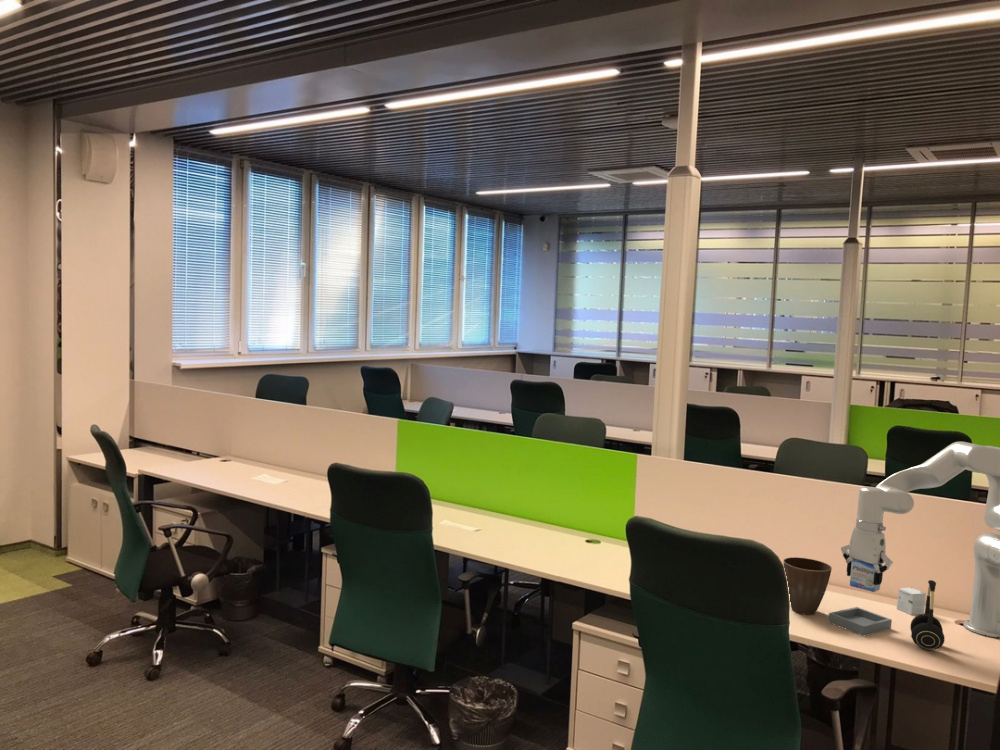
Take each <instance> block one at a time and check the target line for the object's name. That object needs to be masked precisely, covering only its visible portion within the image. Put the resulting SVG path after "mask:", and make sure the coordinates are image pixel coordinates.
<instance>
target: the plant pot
mask: <svg viewBox="0 0 1000 750" xmlns="http://www.w3.org/2000/svg"><path fill="white" fill-rule="evenodd" d="M782 563H783V569H784V568H785V572H786V576H787V581H788V587H789V594H790V601H789V603H790V602H791V605H790V607H791V610H792V611H793V612H794V613H796V614H799V615H800V614H801V615H804V616H805V615H806V616H813V615H815V614H816V613H817V611H818V609H819V607H820V606H821V603H822V601H823V598H824V595H825V593H826V590H827V588H828V584H829V581H830V577H831V573H832V569H833V568H832V566H831V565H829V564H828V563H826V562H823V561H821V560H817V559H813V558H812V559H811V558H805V557H798V556H797V557H786V558H784V559H783V562H782Z"/></svg>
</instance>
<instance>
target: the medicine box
mask: <svg viewBox="0 0 1000 750" xmlns="http://www.w3.org/2000/svg"><path fill="white" fill-rule="evenodd" d="M875 572H876V570H875V568H874V566H873V564H869V563H866V562H863V561H860V560H856V559H853V560H852V564H851V575H850V576H849V586H850V587H853V588H856V589H857V588H858V589H860V590H865V591H869V592H871V593H876V592H878V591H880V590H881V584H879V585H874V584H873V581H874V573H875Z"/></svg>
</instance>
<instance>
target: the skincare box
mask: <svg viewBox="0 0 1000 750" xmlns="http://www.w3.org/2000/svg"><path fill="white" fill-rule="evenodd" d="M926 599H927V593H926V592H923V591H921V590H919V589H916V588H913V587H900V588H899V589H898V596H897V602H896V609H897V610H898V611H901V612H903V613H906V614H908V615H909V616H914V615H916V616H918V615H921V614H925V607H926Z"/></svg>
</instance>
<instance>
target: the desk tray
mask: <svg viewBox="0 0 1000 750" xmlns="http://www.w3.org/2000/svg"><path fill="white" fill-rule="evenodd" d="M892 620H893V619H891V618H888V617H886V616H884V615H881V614H877V613H874V612H872V611H869V610H866V609H864V608H861V607H858V606H855V607H850V608H846V609H841V610H840V609H839V610H837V611H836V610H835V611H832V612H829V613H828V620H827V621H828V623H829V622H830V624H832V623H833V624H832V625H834V624H835V626H836V627H837V626H838V627H839V626H840V627H839V628H842V627H843V628H842V629H844V628H846V629H845V630H847V631H849V630H850V631H849V632H852V633H854V634H857V635H859V634H860V636H862V637H864V635H865V636H868V634H869V635H872V633H873V634H876V633H880V632H884V631H887V630H891V629H892V623H893V622H892Z"/></svg>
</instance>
